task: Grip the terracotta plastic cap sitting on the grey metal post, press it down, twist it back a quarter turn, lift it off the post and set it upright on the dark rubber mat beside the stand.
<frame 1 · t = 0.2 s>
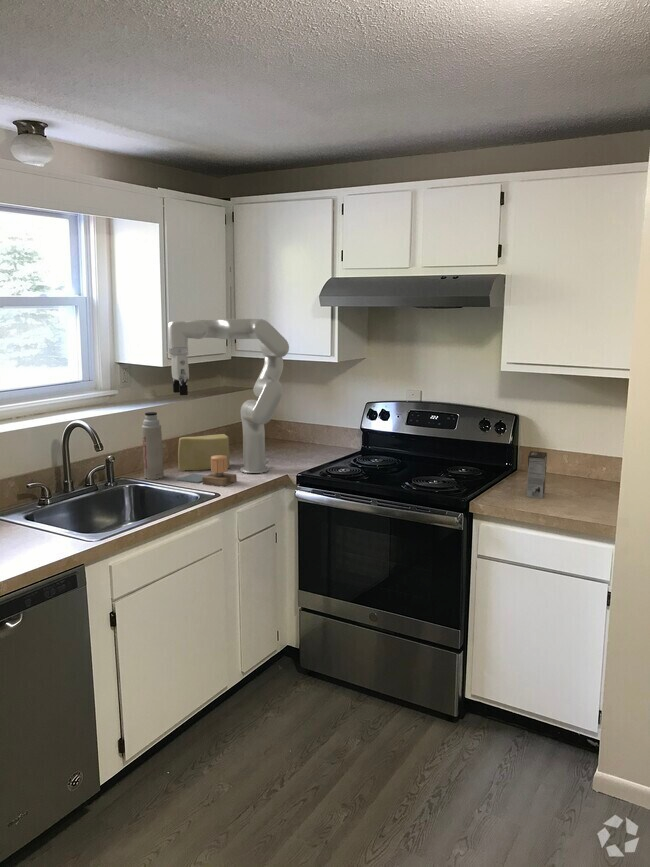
hand: (180, 393, 295), 37 cm above the worktop, tool pointing down, fingers open, 9 cm apart
thermos bottle: (154, 477, 308), on the worktop
post stand: (219, 482, 298), on the worktop
cap: (219, 471, 297), point 5 cm above the worktop, touching post stand
mat: (195, 479, 304), on the worktop
coffee box: (535, 495, 277), on the worktop
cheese: (203, 469, 323), on the worktop
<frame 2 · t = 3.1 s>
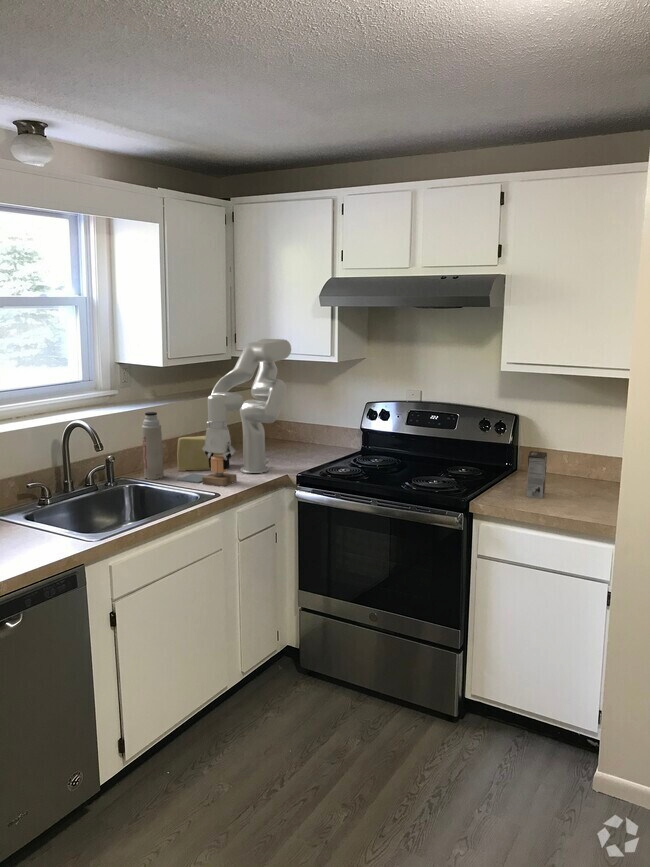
hand: (219, 467, 297), 6 cm above the worktop, tool pointing down, fingers closed on cap, 6 cm apart
cap: (219, 471, 297), point 5 cm above the worktop, touching gripper, post stand
everything else where it was.
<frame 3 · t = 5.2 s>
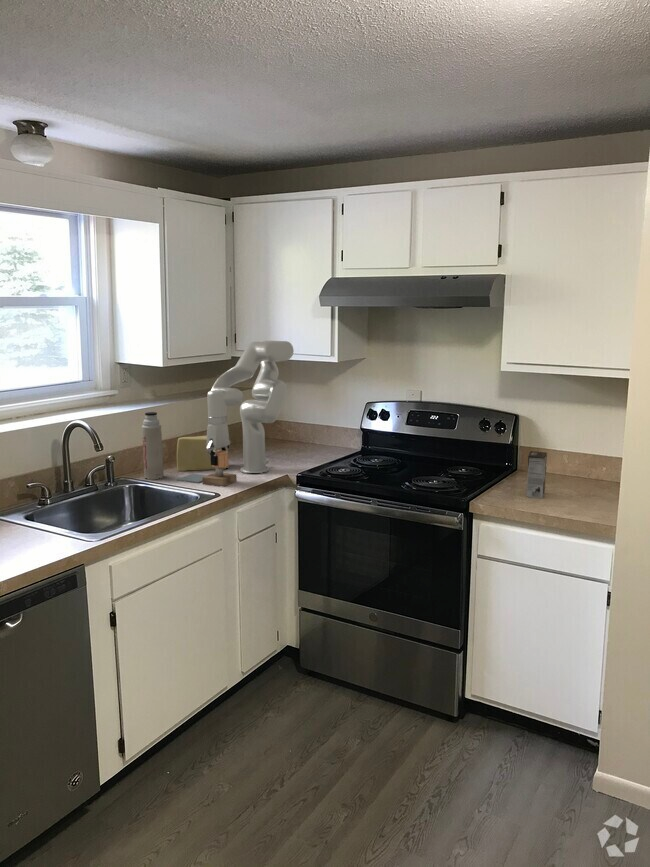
hand: (219, 463, 296), 8 cm above the worktop, tool pointing down, fingers closed on cap, 6 cm apart
cap: (220, 465, 297), point 7 cm above the worktop, touching gripper
everything else where it was.
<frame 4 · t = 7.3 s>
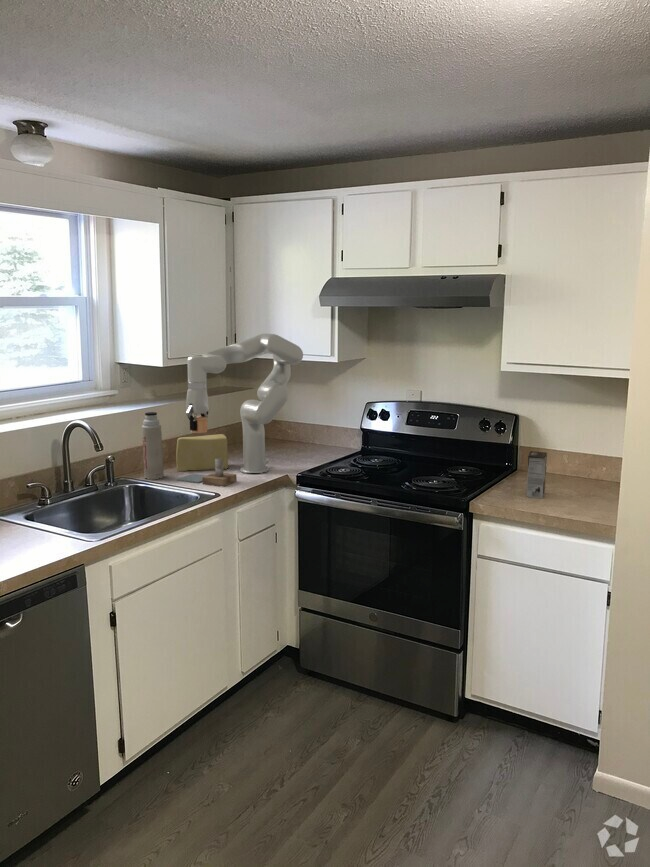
hand: (198, 428, 299), 22 cm above the worktop, tool pointing down, fingers closed on cap, 6 cm apart
cap: (199, 431, 299), point 21 cm above the worktop, touching gripper
everything else where it was.
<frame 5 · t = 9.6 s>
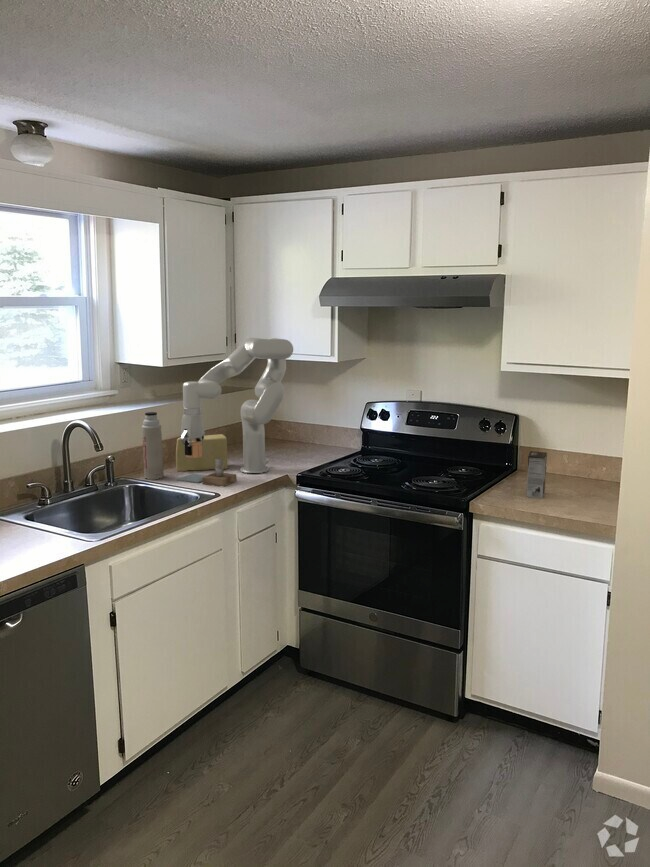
hand: (193, 453, 302), 11 cm above the worktop, tool pointing down, fingers closed on cap, 6 cm apart
cap: (194, 456, 302), point 10 cm above the worktop, touching gripper
everything else where it was.
when the fingers open (3 cm above the worktop, at t = 11.6 s): cap drops 1 cm, resting on mat.
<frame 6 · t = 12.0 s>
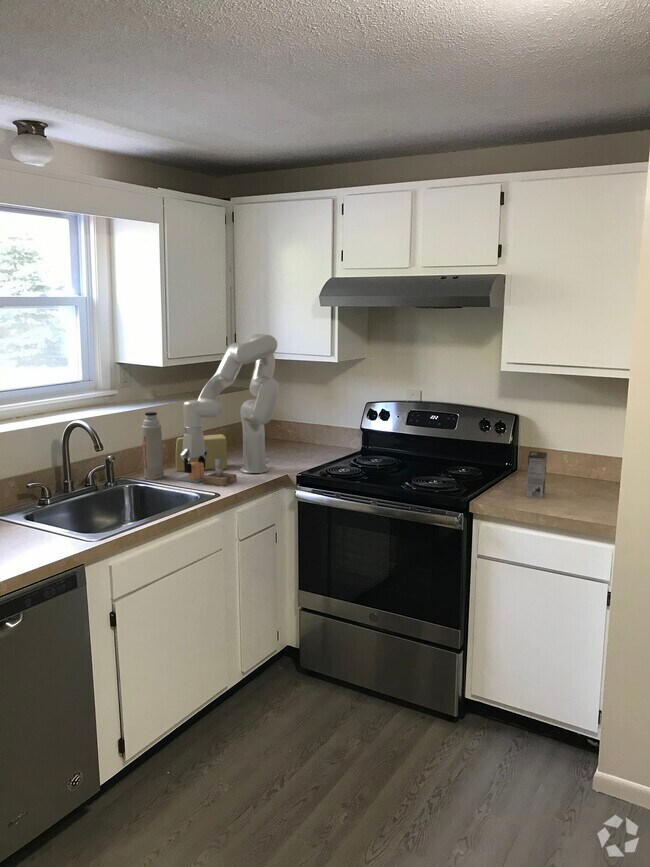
hand: (195, 470, 304), 4 cm above the worktop, tool pointing down, fingers open, 9 cm apart
cap: (196, 477, 304), point 1 cm above the worktop, touching mat
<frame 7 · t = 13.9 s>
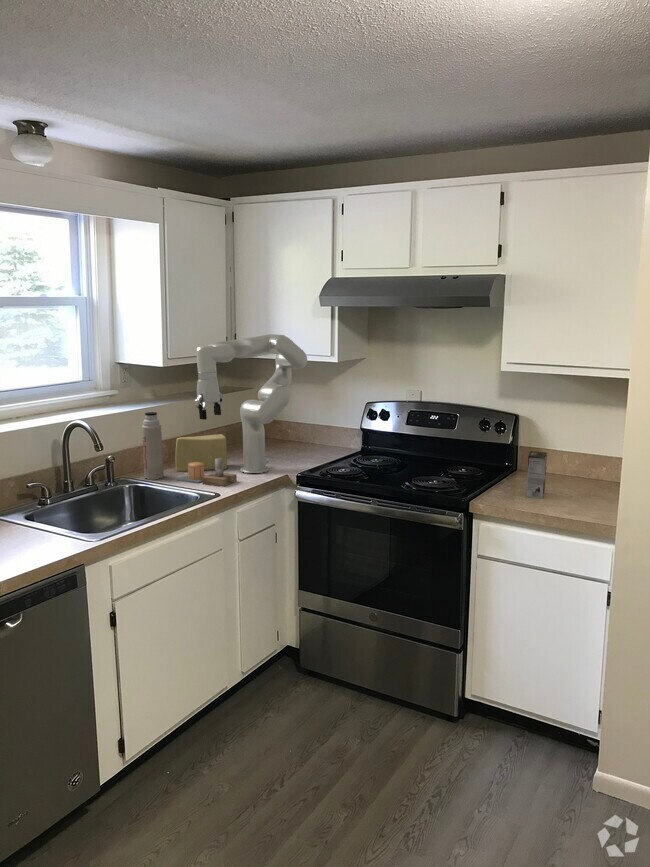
hand: (210, 417, 299), 27 cm above the worktop, tool pointing down, fingers open, 9 cm apart
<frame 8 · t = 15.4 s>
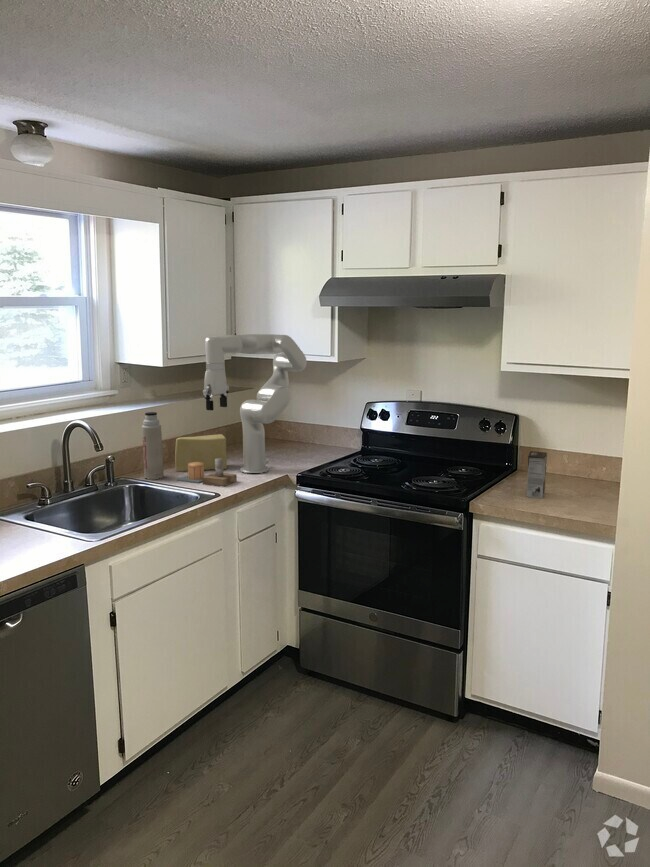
hand: (216, 408, 297), 30 cm above the worktop, tool pointing down, fingers open, 9 cm apart
at the end: cap inside the target area on the mat (0.4 cm from its centre), point 0.6 cm above the mat's base; cap tilted 0°; the gripper is holding nothing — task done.
